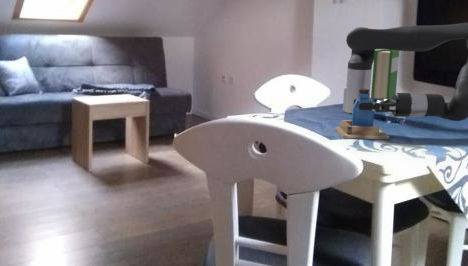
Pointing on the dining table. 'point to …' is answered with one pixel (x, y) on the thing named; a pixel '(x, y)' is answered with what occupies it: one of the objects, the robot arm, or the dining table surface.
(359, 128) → the u cradle
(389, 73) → the hardback book
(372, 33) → the robot arm
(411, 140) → the dining table surface
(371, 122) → the perfume bottle
